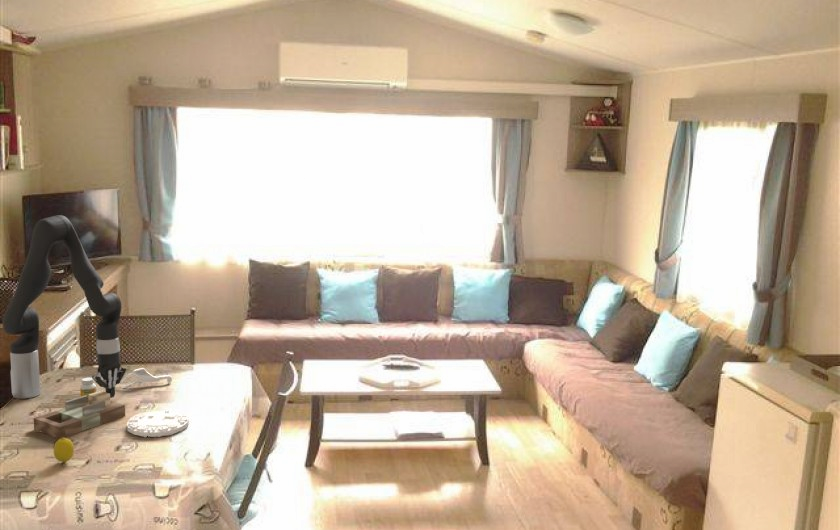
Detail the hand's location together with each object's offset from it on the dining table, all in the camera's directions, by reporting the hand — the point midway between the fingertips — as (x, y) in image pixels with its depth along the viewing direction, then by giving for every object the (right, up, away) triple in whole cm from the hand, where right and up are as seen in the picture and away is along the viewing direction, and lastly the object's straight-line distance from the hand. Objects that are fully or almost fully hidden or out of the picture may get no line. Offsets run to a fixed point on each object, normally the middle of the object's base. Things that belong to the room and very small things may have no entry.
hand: (110, 397), depth 266 cm
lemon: (+3, -13, -40) cm, 42 cm away
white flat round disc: (+21, -9, -11) cm, 25 cm away
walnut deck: (-6, -7, -9) cm, 13 cm away
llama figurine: (+2, -1, +29) cm, 29 cm away
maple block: (-2, -2, -4) cm, 5 cm away
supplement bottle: (-11, -4, +8) cm, 14 cm away
